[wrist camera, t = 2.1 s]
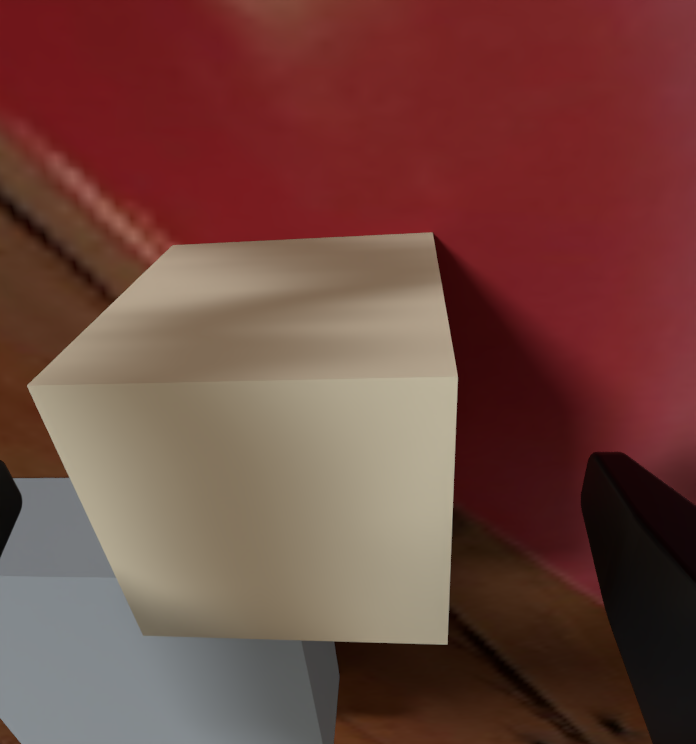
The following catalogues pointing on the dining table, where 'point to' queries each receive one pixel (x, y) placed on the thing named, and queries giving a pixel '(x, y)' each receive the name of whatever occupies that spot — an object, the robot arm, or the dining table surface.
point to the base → (134, 653)
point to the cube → (270, 439)
